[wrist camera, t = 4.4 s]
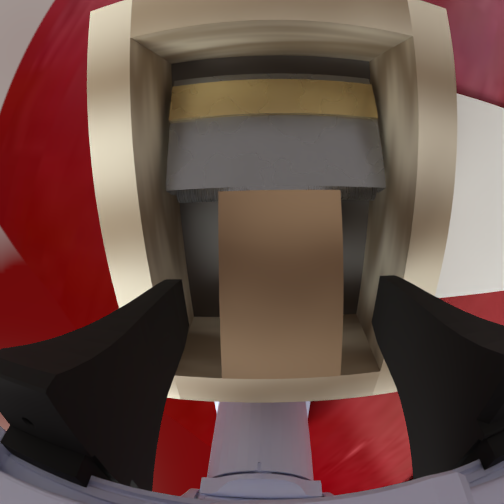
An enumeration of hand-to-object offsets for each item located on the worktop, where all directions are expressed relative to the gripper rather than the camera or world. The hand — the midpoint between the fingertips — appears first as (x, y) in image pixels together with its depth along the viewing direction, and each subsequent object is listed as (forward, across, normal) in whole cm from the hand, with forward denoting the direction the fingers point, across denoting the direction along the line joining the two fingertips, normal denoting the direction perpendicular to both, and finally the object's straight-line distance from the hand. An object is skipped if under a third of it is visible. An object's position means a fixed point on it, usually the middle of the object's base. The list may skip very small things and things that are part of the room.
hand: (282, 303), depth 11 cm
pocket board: (+8, 0, -3) cm, 8 cm away
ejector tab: (+4, 0, -2) cm, 5 cm away
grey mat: (+8, -16, -2) cm, 18 cm away
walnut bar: (+2, 0, 0) cm, 2 cm away
